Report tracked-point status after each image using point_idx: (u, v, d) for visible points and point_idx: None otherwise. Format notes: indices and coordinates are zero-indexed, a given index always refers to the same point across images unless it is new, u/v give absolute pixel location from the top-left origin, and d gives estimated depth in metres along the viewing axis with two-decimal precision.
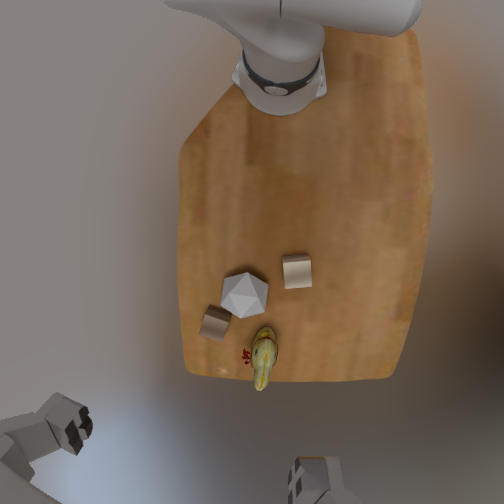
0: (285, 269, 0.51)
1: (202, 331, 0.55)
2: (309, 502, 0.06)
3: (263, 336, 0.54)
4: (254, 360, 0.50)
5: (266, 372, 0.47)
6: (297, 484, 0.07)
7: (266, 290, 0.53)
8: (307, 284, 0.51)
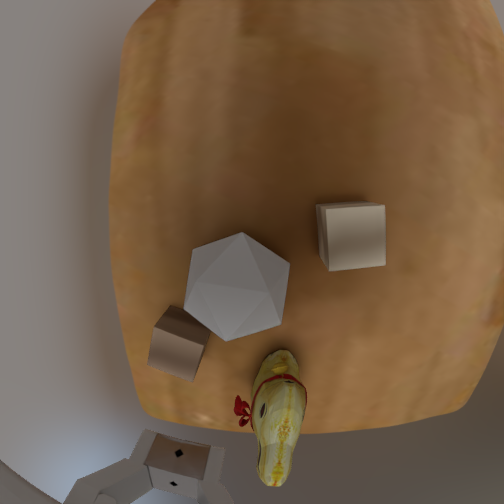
0: (331, 225, 0.21)
1: (153, 359, 0.25)
2: (190, 489, 0.06)
3: (277, 374, 0.24)
4: (258, 426, 0.21)
5: (285, 458, 0.18)
6: None
7: (286, 276, 0.23)
8: (377, 260, 0.22)
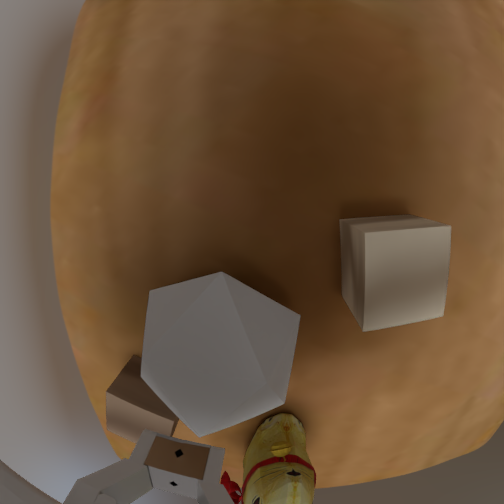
0: (372, 259, 0.12)
1: (112, 426, 0.16)
2: (190, 489, 0.06)
3: (277, 456, 0.15)
4: None
5: None
6: None
7: (294, 337, 0.14)
8: (433, 311, 0.12)
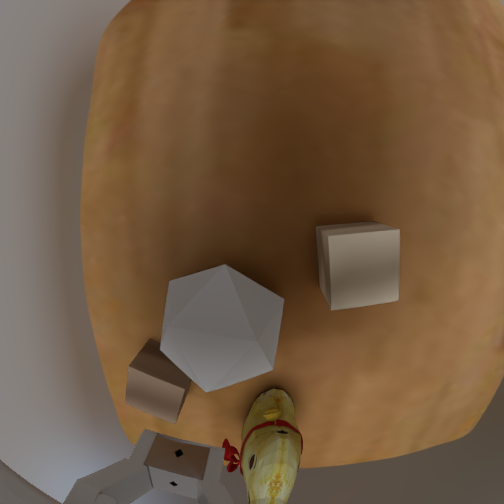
0: (334, 255, 0.17)
1: (131, 399, 0.21)
2: (190, 489, 0.06)
3: (269, 420, 0.20)
4: (247, 477, 0.16)
5: None
6: None
7: (279, 315, 0.19)
8: (388, 296, 0.18)
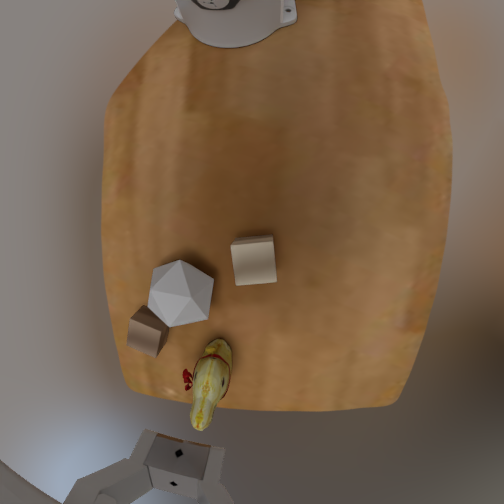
0: (234, 255, 0.34)
1: (130, 341, 0.38)
2: (190, 489, 0.06)
3: (209, 353, 0.36)
4: (193, 387, 0.33)
5: (205, 408, 0.30)
6: None
7: (209, 287, 0.36)
8: (270, 279, 0.34)
